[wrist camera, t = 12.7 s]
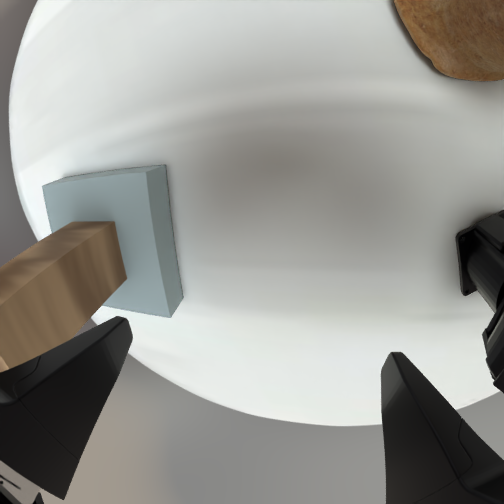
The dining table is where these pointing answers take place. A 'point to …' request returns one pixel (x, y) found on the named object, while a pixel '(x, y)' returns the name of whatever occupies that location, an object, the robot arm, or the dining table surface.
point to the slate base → (127, 230)
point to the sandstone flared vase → (458, 35)
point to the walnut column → (56, 288)
